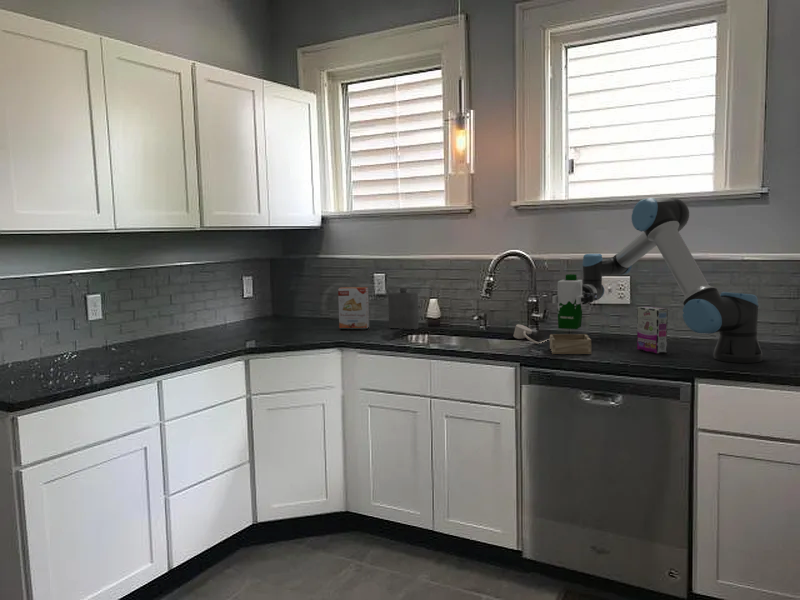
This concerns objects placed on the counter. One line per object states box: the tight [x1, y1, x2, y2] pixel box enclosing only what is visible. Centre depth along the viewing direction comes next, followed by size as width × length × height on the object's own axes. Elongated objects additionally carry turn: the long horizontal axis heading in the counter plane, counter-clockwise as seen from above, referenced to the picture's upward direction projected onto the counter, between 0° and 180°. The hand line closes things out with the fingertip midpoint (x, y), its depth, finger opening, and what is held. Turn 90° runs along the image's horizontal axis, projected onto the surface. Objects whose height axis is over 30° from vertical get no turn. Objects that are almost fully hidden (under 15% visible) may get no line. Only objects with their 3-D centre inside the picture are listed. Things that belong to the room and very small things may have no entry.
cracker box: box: [337, 286, 370, 329], centre depth 331 cm, size 14×6×21 cm, turn 81°
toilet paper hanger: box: [513, 324, 550, 345], centre depth 289 cm, size 20×5×16 cm
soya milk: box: [556, 273, 583, 330], centre depth 256 cm, size 9×9×20 cm
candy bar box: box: [636, 306, 669, 355], centre depth 253 cm, size 11×5×16 cm, turn 21°
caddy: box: [549, 333, 592, 355], centre depth 257 cm, size 14×14×6 cm
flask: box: [387, 287, 419, 330], centre depth 330 cm, size 15×6×20 cm, turn 70°
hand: (565, 300), depth 252 cm, fingers closed on soya milk, 8 cm apart
